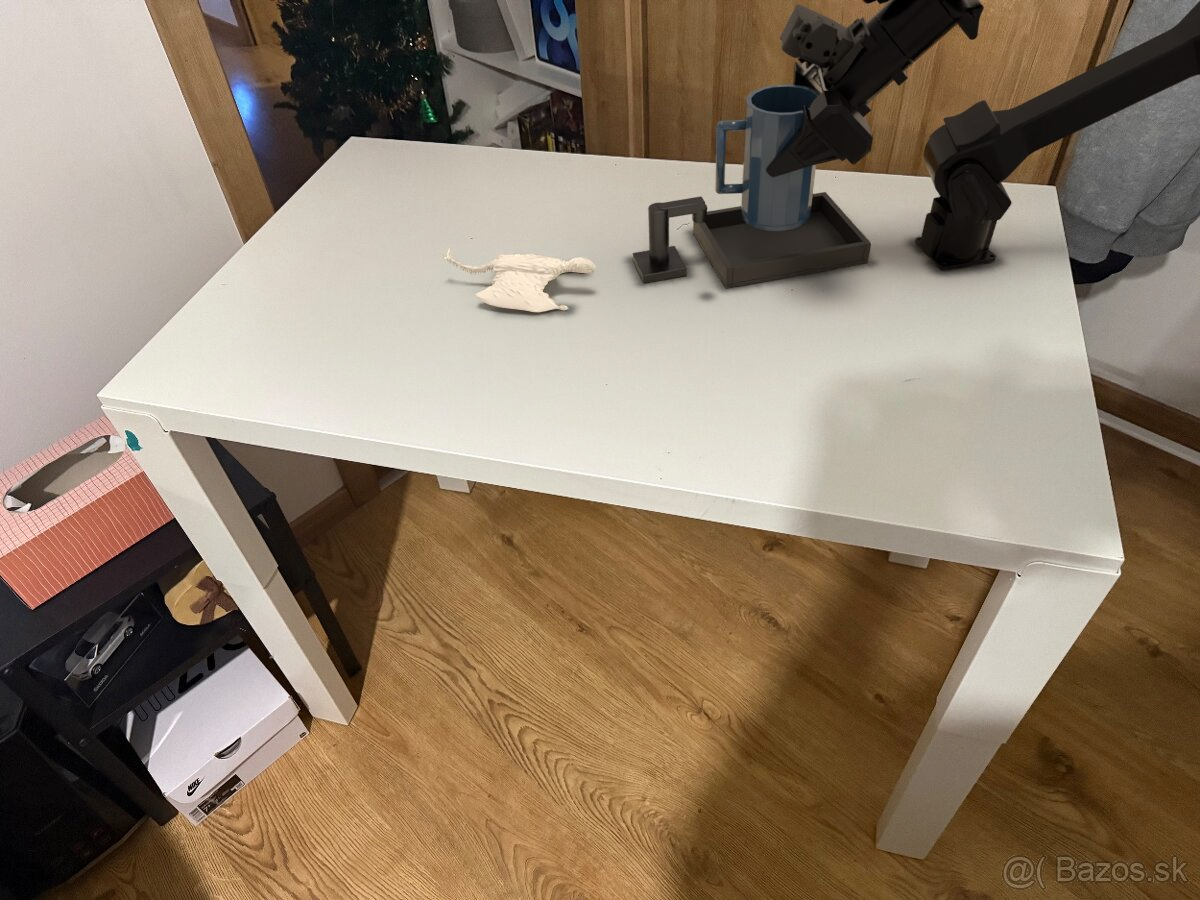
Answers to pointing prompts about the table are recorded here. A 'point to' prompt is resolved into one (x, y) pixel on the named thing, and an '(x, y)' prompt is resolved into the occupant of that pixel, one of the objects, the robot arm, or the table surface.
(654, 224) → the tap
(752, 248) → the tray
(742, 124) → the mug
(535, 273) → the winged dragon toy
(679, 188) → the table surface
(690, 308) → the table surface
